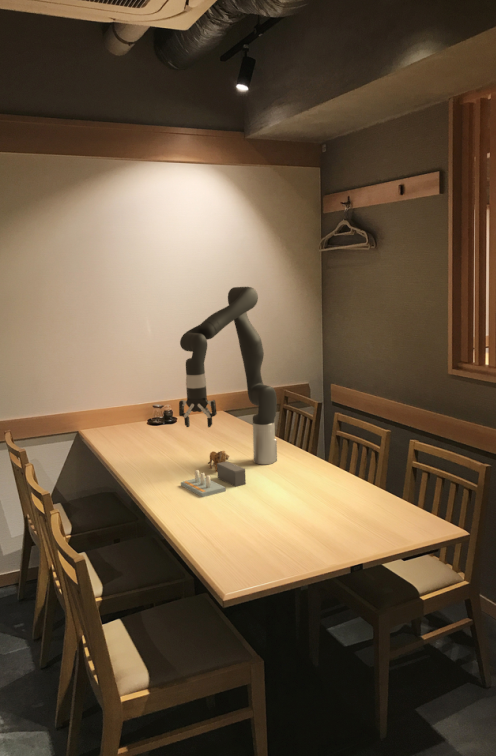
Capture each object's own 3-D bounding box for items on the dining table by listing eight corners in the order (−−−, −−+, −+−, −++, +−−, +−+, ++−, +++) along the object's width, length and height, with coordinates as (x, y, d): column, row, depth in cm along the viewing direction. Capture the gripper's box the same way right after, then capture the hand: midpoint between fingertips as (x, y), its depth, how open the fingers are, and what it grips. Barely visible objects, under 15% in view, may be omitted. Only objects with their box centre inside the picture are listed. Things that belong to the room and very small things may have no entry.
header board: (203, 480, 254) (202, 465, 253) (225, 491, 241) (225, 475, 240) (181, 485, 249) (180, 470, 248) (202, 497, 236) (201, 481, 235)
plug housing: (227, 475, 259) (226, 461, 258) (245, 484, 248) (245, 468, 247) (217, 478, 256) (217, 463, 255) (235, 486, 246) (235, 471, 245)
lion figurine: (231, 472, 263) (230, 450, 262) (220, 474, 260) (219, 453, 259) (212, 463, 275) (212, 443, 274) (202, 466, 272) (201, 445, 271)
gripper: (216, 383, 247) (219, 424, 250) (181, 383, 250) (183, 424, 253) (211, 387, 240) (214, 429, 243) (175, 387, 243) (177, 429, 246)
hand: (198, 426), depth 248 cm, fingers open, 8 cm apart
